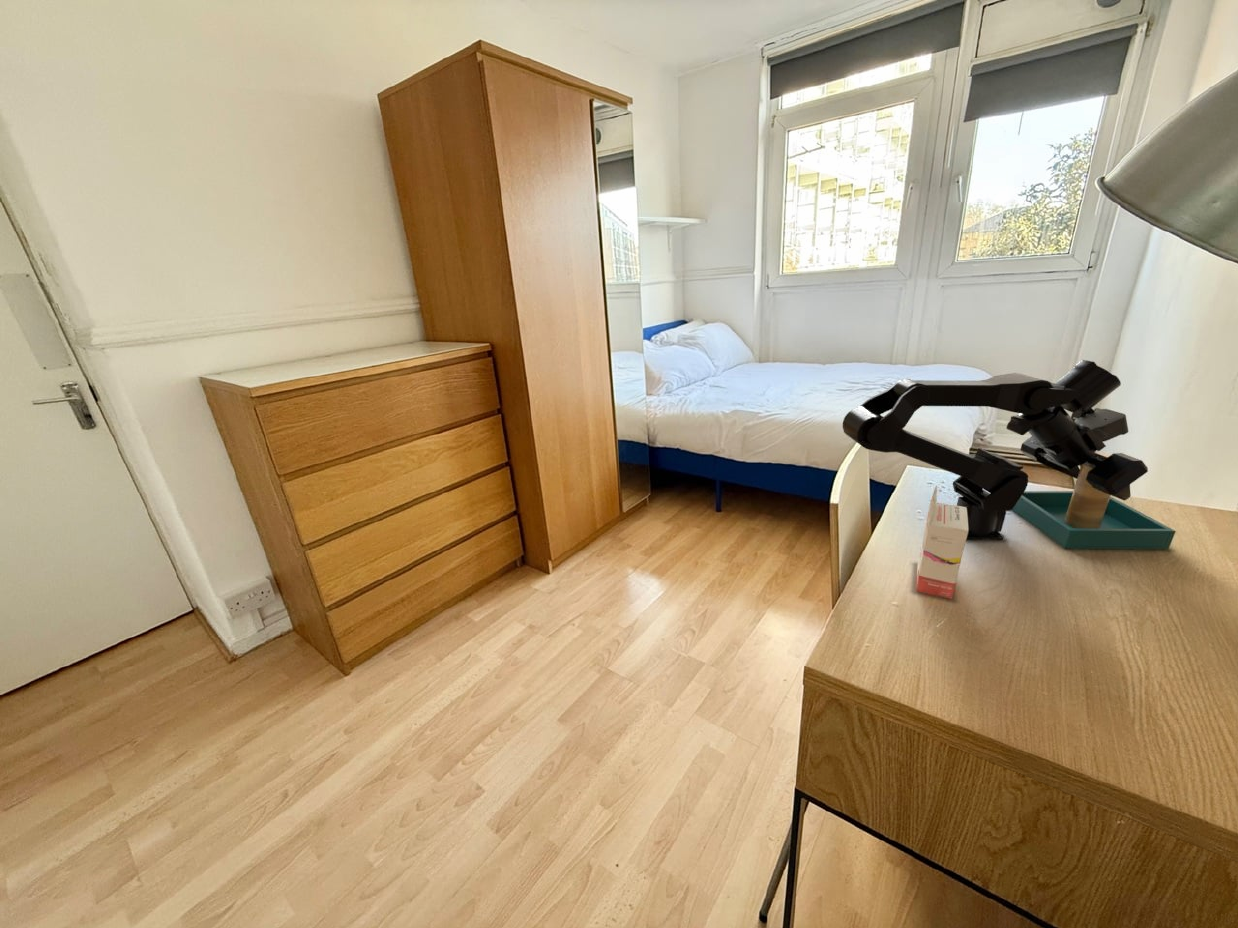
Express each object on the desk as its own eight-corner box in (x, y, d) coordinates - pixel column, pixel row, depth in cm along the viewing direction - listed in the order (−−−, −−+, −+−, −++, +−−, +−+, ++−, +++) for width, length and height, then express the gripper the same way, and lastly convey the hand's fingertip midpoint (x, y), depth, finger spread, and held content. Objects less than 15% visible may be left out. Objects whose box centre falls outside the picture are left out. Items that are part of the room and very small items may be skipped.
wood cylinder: (1103, 532, 86) (1127, 464, 82) (1068, 527, 88) (1089, 460, 84) (1094, 520, 90) (1116, 454, 86) (1060, 516, 92) (1080, 451, 88)
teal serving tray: (1064, 548, 83) (1070, 530, 82) (1008, 507, 98) (1012, 491, 96) (1168, 549, 81) (1176, 531, 80) (1095, 507, 96) (1100, 490, 94)
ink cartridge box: (954, 600, 73) (974, 512, 67) (915, 591, 75) (932, 505, 70) (952, 571, 79) (971, 488, 74) (917, 563, 82) (932, 482, 76)
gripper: (1156, 411, 72) (1205, 476, 76) (1052, 383, 89) (1097, 438, 93) (1086, 463, 75) (1136, 523, 79) (999, 427, 93) (1044, 478, 96)
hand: (1102, 487), depth 87 cm, fingers open, 9 cm apart
